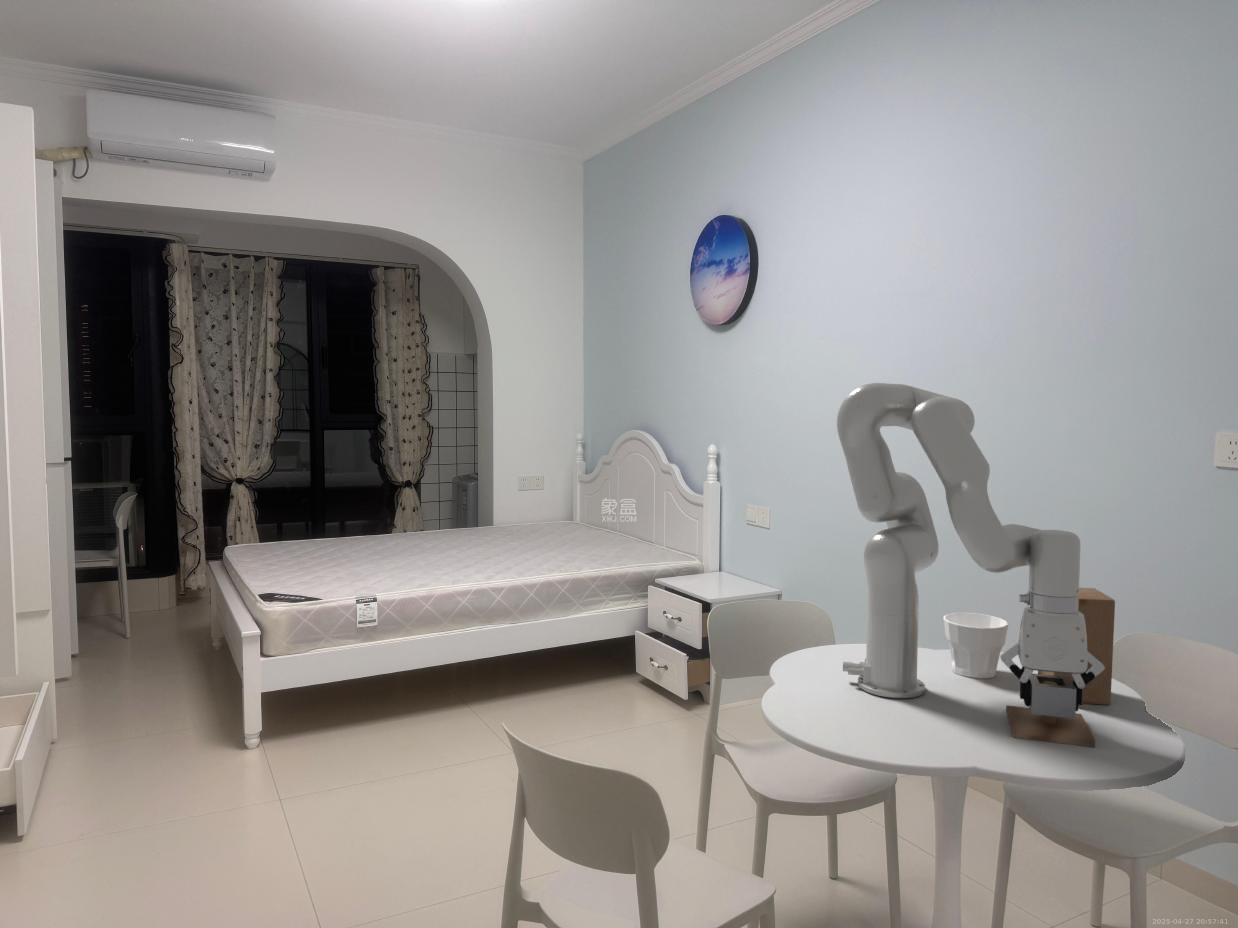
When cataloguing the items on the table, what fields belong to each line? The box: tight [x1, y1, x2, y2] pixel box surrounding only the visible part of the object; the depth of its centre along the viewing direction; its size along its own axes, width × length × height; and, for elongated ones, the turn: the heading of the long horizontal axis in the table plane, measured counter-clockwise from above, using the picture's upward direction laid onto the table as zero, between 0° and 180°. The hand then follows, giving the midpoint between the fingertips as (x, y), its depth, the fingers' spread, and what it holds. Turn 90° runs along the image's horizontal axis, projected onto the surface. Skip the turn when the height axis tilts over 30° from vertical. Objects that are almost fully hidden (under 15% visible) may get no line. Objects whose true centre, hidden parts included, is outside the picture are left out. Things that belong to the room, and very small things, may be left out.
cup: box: [943, 612, 1009, 680], centre depth 169 cm, size 12×12×11 cm
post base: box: [1005, 681, 1096, 748], centre depth 139 cm, size 12×12×8 cm
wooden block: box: [1037, 587, 1116, 706], centre depth 155 cm, size 10×10×20 cm
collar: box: [1027, 673, 1077, 719], centre depth 139 cm, size 7×7×5 cm
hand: (1050, 704), depth 139 cm, fingers closed on collar, 6 cm apart
